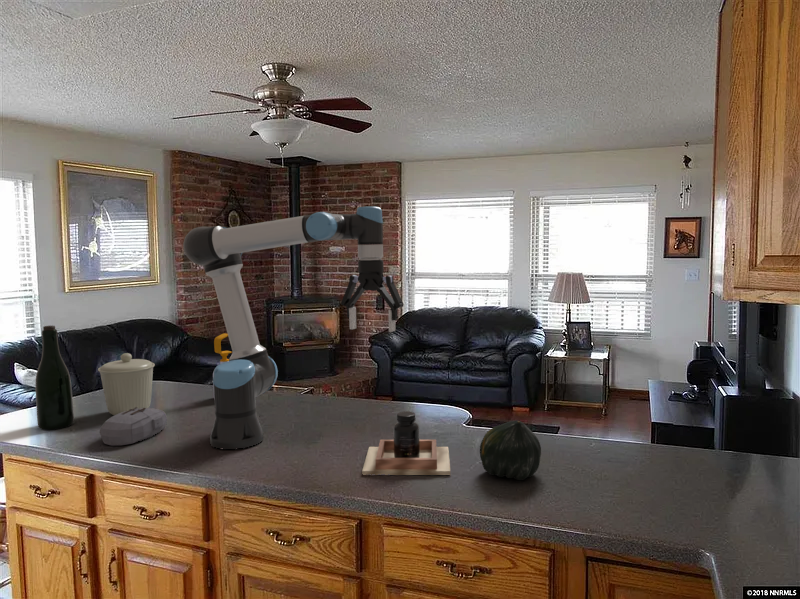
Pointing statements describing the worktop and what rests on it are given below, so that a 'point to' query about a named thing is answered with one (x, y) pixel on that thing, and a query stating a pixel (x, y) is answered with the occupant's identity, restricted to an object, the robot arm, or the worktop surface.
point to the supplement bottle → (406, 436)
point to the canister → (127, 383)
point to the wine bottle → (53, 386)
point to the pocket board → (407, 460)
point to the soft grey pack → (133, 426)
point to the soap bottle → (218, 349)
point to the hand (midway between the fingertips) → (372, 330)
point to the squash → (510, 451)
